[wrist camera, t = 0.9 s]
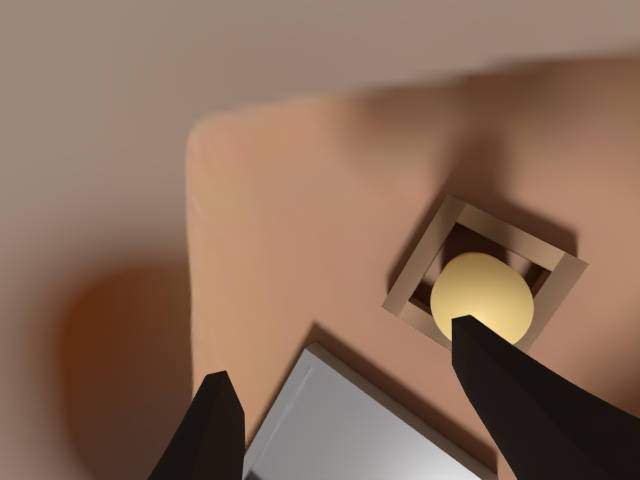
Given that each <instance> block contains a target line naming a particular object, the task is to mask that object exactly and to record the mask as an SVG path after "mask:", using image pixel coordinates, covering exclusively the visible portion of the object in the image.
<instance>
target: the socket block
mask: <svg viewBox="0 0 640 480" xmlns="http://www.w3.org/2000/svg"><path fill="white" fill-rule="evenodd" d="M456 223H458V224H460V225H462V226H464V227H466V228H468V229H470V230H472V231H474V232H475V233H477V234H479V235H481V236H483V237H485V238H487V239H489V240H491V241H493V242H495V243H497V244H498V245H500V246H502V247H504V248H506V249H508V250H510V251H512V252H514V253H516V254H518V255H520V256H521V257H523V258H525V259H527V260H529V261H531V262H533V263H535V264H537V265H539V266H541V267H543V268H544V270H543V272H542V273H541V275H540V276H539V278H538V279H537V281H536V282H535V284H534V285H533V287H532V288H531V290H530V292H531V294H532V298H533V304H534V312H533V318H532V322H531V324H530V327H529V328H528V330H527V332H526V333H525V334H524V336H523V337H522V338H521V339H520V340H519V341H518V342H516V343H515V344H513V345H514V346H515V347H517V348H518V349H520V350H521V351H522V352H524V353H525V354H526V353H527V352H528V350H529V349H530V347H531V346H532V345H533V343H534V342H535V340H536V339H537V337H538V336H539V335H540V333H541V332H542V330H543V329H544V327H545V326H546V325H547V323H548V322H549V320H550V319H551V317H552V316H553V315H554V313H555V312H556V310H557V309H558V307H559V306H560V305H561V303H562V302H563V300H564V299H565V298H566V296H567V295H568V293H569V292H570V290H571V289H572V288H573V286H574V285H575V283H576V282H577V280H578V279H579V278H580V276H581V275H582V273H583V272H584V270H585V269H586V268H587V266H588V265H589V264H588V263H586V262H584V261H582V260H580V259H578V258H576V257H574V256H572V255H570V254H568V253H566V252H564V251H562V250H560V249H558V248H556V247H554V246H552V245H550V244H548V243H546V242H544V241H542V240H540V239H538V238H536V237H534V236H532V235H530V234H528V233H526V232H524V231H522V230H520V229H518V228H516V227H514V226H512V225H510V224H508V223H506V222H504V221H502V220H500V219H498V218H496V217H494V216H492V215H490V214H488V213H486V212H484V211H482V210H480V209H478V208H476V207H474V206H472V205H470V204H468V203H466V202H464V201H462V200H460V199H458V198H456V197H454V196H452V195H450V194H448V195H447V196H446V198H445V200H444V202H443V203H442V205H441V207H440V208H439V210H438V212H437V213H436V215H435V217H434V218H433V220H432V222H431V223H430V225H429V227H428V228H427V230H426V232H425V234H424V235H423V237H422V239H421V240H420V242H419V244H418V245H417V247H416V249H415V250H414V252H413V254H412V255H411V257H410V259H409V261H408V262H407V264H406V266H405V267H404V269H403V271H402V272H401V274H400V276H399V277H398V279H397V281H396V282H395V284H394V286H393V288H392V289H391V291H390V293H389V294H388V296H387V298H386V299H385V301H384V303H383V304H382V306H381V307H383V308H384V309H386V310H387V311H389V312H390V313H392V314H394V315H395V316H397V317H398V318H400V319H401V320H403V321H404V322H406V323H408V324H409V325H411V326H412V327H414V328H415V329H417V330H418V331H420V332H421V333H423V334H425V335H426V336H428V337H429V338H431V339H432V340H434V341H435V342H437V343H438V344H440V345H442V346H443V347H445V348H446V349H448V350H449V351H451V352H452V341H451V340H449V339H448V338H447V337H446V336H445V335H444V334H443V333H442V332H441V330H440V329H439V327H438V326H437V324H436V322H435V320H434V318H433V315H432V310H431V308H430V307H428V306H427V305H425V304H424V303H422V302H420V301H419V300H417V299H415V298H414V297H412V295H413V294H414V292H415V290H416V289H417V287H418V285H419V284H420V282H421V280H422V279H423V277H424V276H425V274H426V272H427V271H428V269H429V267H430V266H431V264H432V262H433V261H434V259H435V257H436V256H437V254H438V253H439V251H440V249H441V248H442V246H443V244H444V243H445V241H446V239H447V238H448V236H449V234H450V233H451V231H452V229H453V228H454V226H455V225H456Z"/></svg>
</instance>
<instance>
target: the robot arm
mask: <svg viewBox="0 0 640 480" xmlns="http://www.w3.org/2000/svg"><path fill="white" fill-rule="evenodd" d="M451 325H452V366H453V368H454V370H455V372H456V375H457V377H458V379H459V381H460V383H461V385H462V387H463V389H464V392H465V394H466V396H467V397H468V399H469V401H470V402H471V404H472V406H473V407H474V409H475V410H476V412H477V414H478V415H479V417H480V419H481V420H482V422H483V424H484V425H485V427H486V428H487V430H488V432H489V433H490V435H491V436H492V438H493V440H494V441H495V443H496V445H497V446H498V448H499V449H500V451H501V453H502V454H503V456H504V457H505V459H506V461H507V462H508V464H509V466H510V467H511V469H512V471H513V473H514V474H515V476H516V478H517V480H640V419H639V418H637V417H634V416H632V415H630V414H628V413H626V412H624V411H622V410H620V409H618V408H616V407H615V406H613V405H611V404H609V403H607V402H605V401H603V400H601V399H600V398H598V397H596V396H594V395H592V394H590V393H588V392H587V391H585V390H583V389H581V388H579V387H578V386H576V385H574V384H573V383H571V382H569V381H568V380H566V379H564V378H563V377H561V376H559V375H558V374H556V373H555V372H553V371H551V370H550V369H548V368H547V367H545V366H544V365H542V364H540V363H539V362H537V361H536V360H534V359H533V358H531V357H530V356H528V355H527V354H525V353H524V352H522V351H521V350H520V349H518V348H517V347H515V346H514V345H512V344H511V343H509V342H508V341H507V340H505V339H504V338H502V337H501V336H500V335H498V334H497V333H496V332H494V331H493V330H491V329H490V328H489V327H487V326H486V325H484V324H483V323H482V322H480V321H479V320H478V319H476V318H475V317H473V316H472V315H465V316H461V317H457V318H452V319H451ZM244 453H245V415H244V411H243V408H242V406H241V404H240V401H239V399H238V397H237V395H236V392H235V390H234V388H233V385H232V383H231V381H230V378H229V376H228V374H227V372H226V371H221V372H217V373H212V374H208V375H206V377H205V378H204V380H203V382H202V384H201V386H200V388H199V389H198V391H197V393H196V395H195V397H194V399H193V401H192V403H191V405H190V407H189V409H188V411H187V412H186V414H185V416H184V418H183V420H182V422H181V424H180V425H179V427H178V429H177V431H176V432H175V434H174V436H173V438H172V440H171V441H170V443H169V445H168V447H167V448H166V450H165V452H164V454H163V455H162V457H161V458H160V460H159V462H158V463H157V465H156V466H155V468H154V470H153V471H152V473H151V475H150V476H149V478H148V480H242V475H243V465H244Z"/></svg>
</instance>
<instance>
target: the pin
mask: <svg viewBox="0 0 640 480" xmlns="http://www.w3.org/2000/svg"><path fill="white" fill-rule="evenodd" d="M431 310H432V315H433V318H434V320H435V322H436V324H437V326H438V327H439V329H440V330H441V332H442V333H443V334H444V335H445V336H446V337H447V338H448V339H449V340H451V341H452V325H451V319H452V318H457V317H461V316H465V315H472V316H473V317H475V318H476V319H478V320H479V321H480V322H482V323H483V324H484V325H486V326H487V327H489V328H490V329H491V330H493V331H494V332H496V333H497V334H498V335H500V336H501V337H502V338H504V339H505V340H507V341H508V342H509V343H511V344H512V345H513V344H515V343H516V342H518V341H519V340H520V339H521V338H522V337H523V336H524V334H525V333H526V332H527V330H528V328H529V327H530V324H531V322H532V318H533V312H534V304H533V298H532V294H531V292H530V289H529V287H528V285H527V284H526V282H525V281H524V279H523V278H522V277H521V276H520V275H519V274H518V273H517V272H516V271H515V270H514V269H512V268H511V267H509V266H508V265H506V264H504V263H503V262H501V261H499V260H498V259H496V258H494V257H493V256H491V255H489V254H486V253H483V252H475V251H473V252H465V253H462V254H459V255H457V256H455V257H454V258H453V259H451V260H450V261H449V262H448V263H447V265H446V266H445V268H444V269H443V271H442V272H441V274H440V276H439V277H438V279H437V280H436V282H435V284H434V287H433V289H432V294H431Z"/></svg>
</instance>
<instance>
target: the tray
mask: <svg viewBox="0 0 640 480" xmlns="http://www.w3.org/2000/svg"><path fill="white" fill-rule="evenodd" d="M242 480H498V475H497V474H496V473H495V472H493V471H492V470H491V469H489V468H488V467H486V466H485V465H484V464H482V463H481V462H480V461H478V460H477V459H476V458H474V457H473V456H471V455H470V454H469V453H467V452H466V451H465V450H463V449H462V448H460V447H459V446H458V445H456V444H455V443H454V442H452V441H451V440H449V439H448V438H447V437H445V436H444V435H443V434H441V433H440V432H438V431H437V430H436V429H434V428H433V427H432V426H430V425H429V424H427V423H426V422H425V421H423V420H422V419H421V418H419V417H418V416H417V415H415V414H414V413H412V412H411V411H410V410H408V409H407V408H406V407H404V406H403V405H401V404H400V403H399V402H397V401H396V400H395V399H393V398H392V397H390V396H389V395H388V394H386V393H385V392H384V391H382V390H381V389H379V388H378V387H377V386H375V385H374V384H373V383H371V382H370V381H368V380H367V379H366V378H364V377H363V376H362V375H360V374H359V373H358V372H356V371H355V370H353V369H352V368H351V367H349V366H348V365H347V364H345V363H344V362H342V361H341V360H340V359H338V358H337V357H336V356H334V355H333V354H331V353H330V352H329V351H327V350H326V349H325V348H323V347H322V346H320V345H319V344H318V343H316V342H313V343H312V344H310V345H309V346H308V347H306V348H305V349H304V351H303V353H302V355H301V356H300V358H299V360H298V362H297V364H296V365H295V367H294V369H293V371H292V372H291V374H290V376H289V378H288V380H287V381H286V383H285V385H284V387H283V388H282V390H281V392H280V394H279V396H278V397H277V399H276V401H275V403H274V405H273V406H272V408H271V410H270V412H269V413H268V415H267V417H266V419H265V421H264V422H263V424H262V426H261V428H260V430H259V431H258V433H257V435H256V437H255V438H254V440H253V442H252V444H251V446H250V447H249V449H248V451H247V453H246V454H245V456H244V465H243V475H242Z"/></svg>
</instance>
